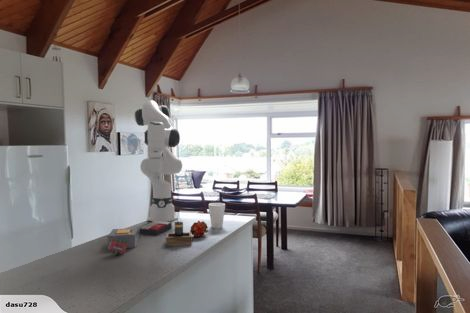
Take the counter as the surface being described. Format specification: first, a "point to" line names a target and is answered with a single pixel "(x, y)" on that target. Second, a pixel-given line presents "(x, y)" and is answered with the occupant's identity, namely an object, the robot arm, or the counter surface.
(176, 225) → the battery cell
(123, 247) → the geometric puzzle
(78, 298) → the counter surface
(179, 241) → the box
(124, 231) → the button
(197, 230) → the dragon fruit
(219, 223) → the foam cup
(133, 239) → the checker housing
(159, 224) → the calculator
